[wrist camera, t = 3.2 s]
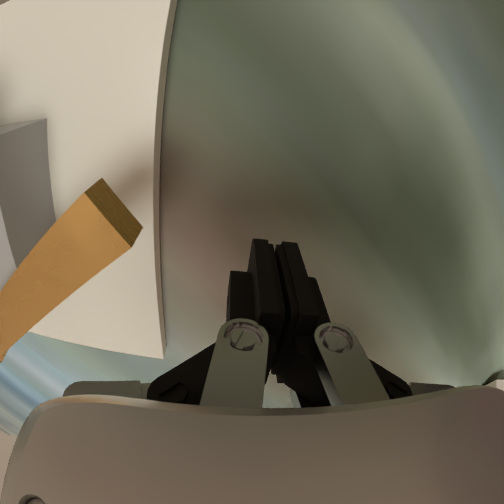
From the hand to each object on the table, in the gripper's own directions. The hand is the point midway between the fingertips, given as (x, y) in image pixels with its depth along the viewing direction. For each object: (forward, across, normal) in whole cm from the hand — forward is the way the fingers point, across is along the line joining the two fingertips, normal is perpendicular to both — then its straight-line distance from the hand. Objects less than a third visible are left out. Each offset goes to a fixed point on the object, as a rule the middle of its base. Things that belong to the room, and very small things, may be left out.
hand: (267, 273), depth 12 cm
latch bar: (0, +12, +3) cm, 13 cm away
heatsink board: (+7, +18, 0) cm, 19 cm away
